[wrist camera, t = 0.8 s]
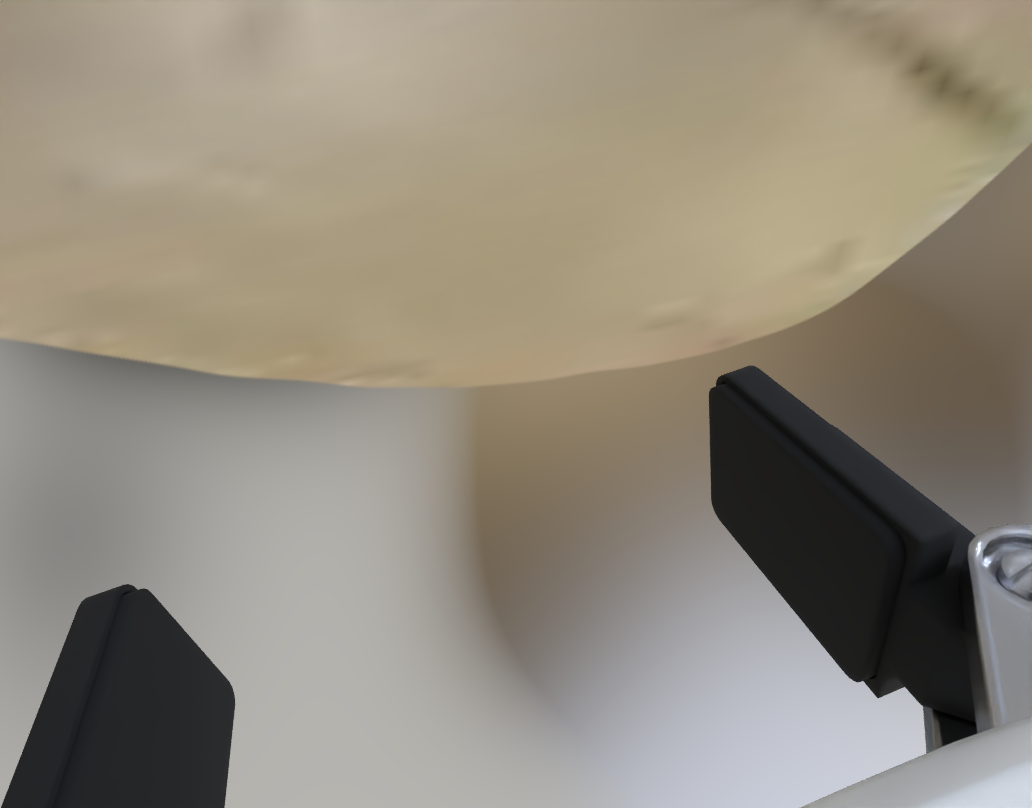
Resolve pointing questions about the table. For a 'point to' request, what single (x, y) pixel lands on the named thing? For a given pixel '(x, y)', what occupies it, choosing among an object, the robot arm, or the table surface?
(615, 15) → the table surface
